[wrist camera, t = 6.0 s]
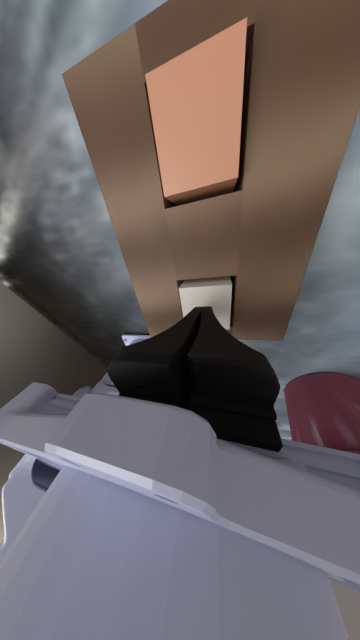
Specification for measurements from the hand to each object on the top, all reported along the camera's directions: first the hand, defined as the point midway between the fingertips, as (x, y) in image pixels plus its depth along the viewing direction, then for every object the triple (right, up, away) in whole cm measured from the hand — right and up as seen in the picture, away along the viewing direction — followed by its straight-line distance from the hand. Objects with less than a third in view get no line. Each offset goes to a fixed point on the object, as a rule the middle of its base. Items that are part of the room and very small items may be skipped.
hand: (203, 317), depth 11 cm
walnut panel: (+1, +8, +2) cm, 8 cm away
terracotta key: (0, +11, -1) cm, 11 cm away
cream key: (+1, +3, +4) cm, 5 cm away
